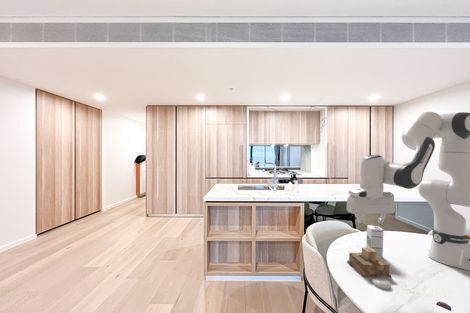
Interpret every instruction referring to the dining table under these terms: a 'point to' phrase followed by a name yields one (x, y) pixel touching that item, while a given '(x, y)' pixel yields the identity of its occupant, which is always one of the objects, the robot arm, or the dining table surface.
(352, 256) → the socket block
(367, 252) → the oak peg
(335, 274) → the dining table surface
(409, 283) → the dining table surface
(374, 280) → the grey flat pebble
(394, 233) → the dining table surface
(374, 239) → the syrup box
